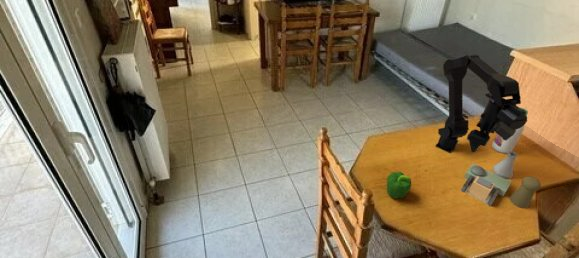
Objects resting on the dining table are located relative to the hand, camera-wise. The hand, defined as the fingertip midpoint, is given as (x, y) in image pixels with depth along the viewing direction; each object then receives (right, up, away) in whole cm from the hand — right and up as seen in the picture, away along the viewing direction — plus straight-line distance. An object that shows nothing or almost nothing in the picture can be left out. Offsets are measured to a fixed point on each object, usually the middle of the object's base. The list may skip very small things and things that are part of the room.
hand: (477, 146), depth 120 cm
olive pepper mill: (+12, -20, -6) cm, 24 cm away
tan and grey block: (-1, -17, -3) cm, 17 cm away
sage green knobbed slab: (+4, -14, +2) cm, 15 cm away
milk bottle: (+21, -2, +18) cm, 28 cm away
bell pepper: (-32, -18, -3) cm, 37 cm away
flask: (+14, -11, +6) cm, 18 cm away
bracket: (-1, -17, -3) cm, 17 cm away
